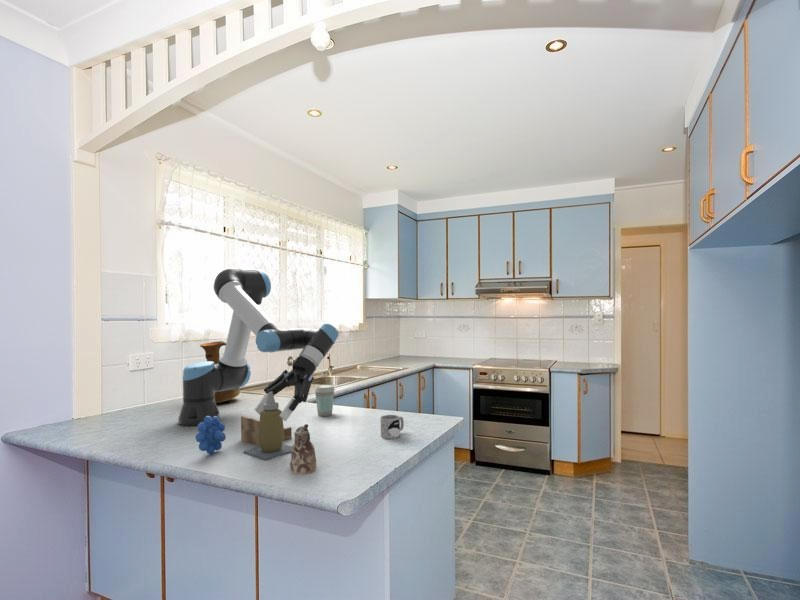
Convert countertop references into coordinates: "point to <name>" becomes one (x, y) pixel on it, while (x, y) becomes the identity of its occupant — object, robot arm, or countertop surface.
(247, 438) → the brown wooden frame
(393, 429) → the mug
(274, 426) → the squeeze bottle
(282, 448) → the rubber mat
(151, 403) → the countertop surface
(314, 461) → the figurine
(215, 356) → the ceramic pitcher
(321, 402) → the coffee cup
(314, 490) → the countertop surface
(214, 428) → the grapes
